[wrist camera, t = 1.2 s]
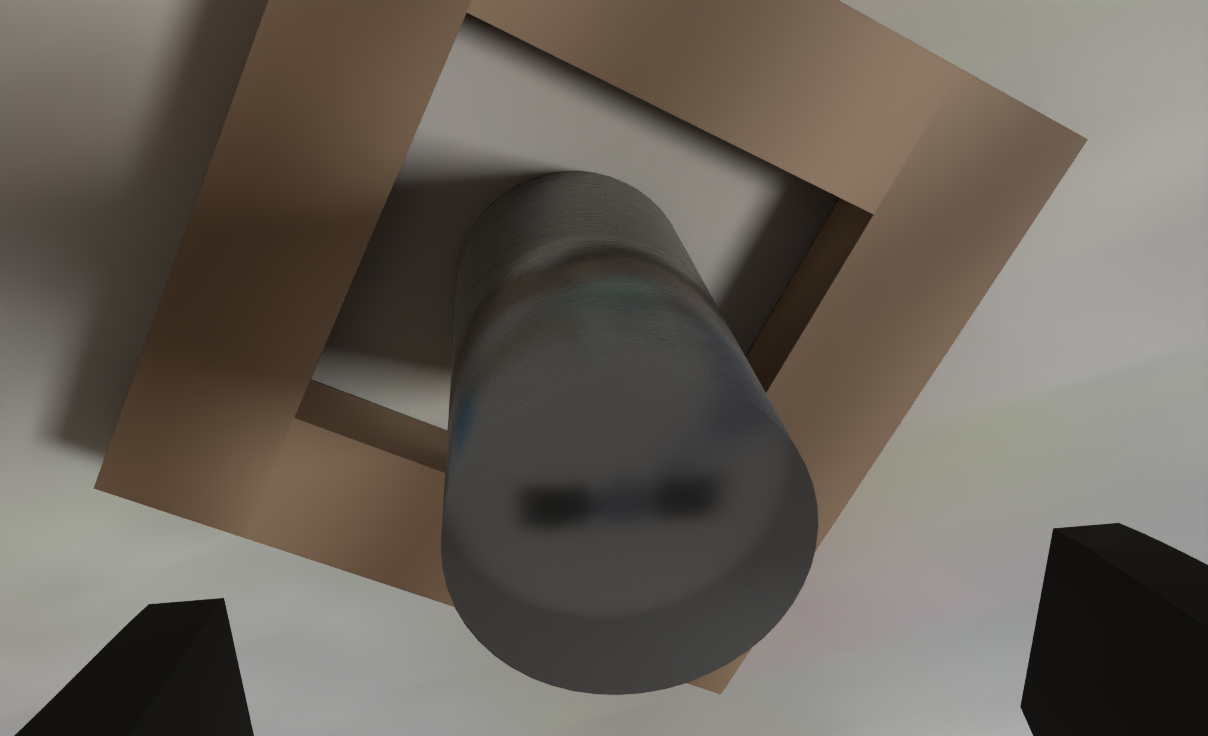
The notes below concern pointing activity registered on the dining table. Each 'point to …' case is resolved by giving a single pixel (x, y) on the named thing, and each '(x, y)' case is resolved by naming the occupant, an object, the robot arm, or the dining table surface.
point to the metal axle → (610, 451)
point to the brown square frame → (648, 71)
